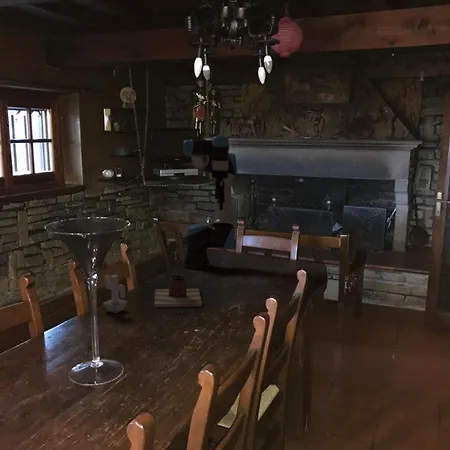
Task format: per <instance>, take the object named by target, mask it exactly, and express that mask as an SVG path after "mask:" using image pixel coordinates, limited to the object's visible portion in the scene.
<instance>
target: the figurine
mask: <svg viewBox="0 0 450 450" xmlns="http://www.w3.org/2000/svg"><path fill="white" fill-rule="evenodd" d="M119 282H120V280H119V275H118V274H113V275H109V274H107V275H105V276H104V288H105V289H107V290H110V291H111V299H109V300H106V301H104V302H102V305H103V306H104V308H105V310H106V311H107V312H109V313H114V314H118V313H119V312H121V311H124V308H125V307H126V305H127V303H128V300H124V298H125V297H126V286H125V285H124V284H120V283H119ZM119 296H120V297H119ZM120 298H121V299H120Z"/></svg>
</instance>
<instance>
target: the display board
mask: <svg viewBox="0 0 450 450" xmlns="http://www.w3.org/2000/svg"><path fill="white" fill-rule="evenodd" d="M186 294H187V297H170V296H169V288H165V289H164V288H160V289H159V288H158V289H157V288H156V289H154V308H185V307H186V308H187V307H189V308H190V307H191V308H193V307H198V308H199V307H200V308H202V307H203V301H202V297H201V293H200V289H199V288H186Z"/></svg>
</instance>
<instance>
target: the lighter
mask: <svg viewBox="0 0 450 450" xmlns="http://www.w3.org/2000/svg"><path fill="white" fill-rule="evenodd" d="M187 283H188V279H186V278H185V275H184V274H181V273H177V274H176V273H171V274H170V278H169V279H168V289H169V296H170V297H187V294H186V289H187V288H188V287H187V286H188V285H187Z"/></svg>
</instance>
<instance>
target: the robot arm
mask: <svg viewBox="0 0 450 450" xmlns="http://www.w3.org/2000/svg"><path fill="white" fill-rule="evenodd" d="M182 147H183V155H185V156H189V157H190V156H191V164H192V166H193V167H194V168H195V169H198V170H197V171H201V172H203V173H206V174H207V173H208V174H211V178H212V179H215V181H214V184H215V185H214V186H215V187H214V221H213V222H212V223H211V226H209V225H208V224H207V223H194V224H191V225H188V226H186V227H187V228H186V234H185V236H186V237H185V238H186V240H185V244H186V245H185V247H186V249H185V254H184V257H183V261H182V266H183V268H186V269H189V270H204V269H205V270H206V269H208V268H210V267H211V260H210V258H209V254H208V249H223V250H225V249H231V248H233V246H234V239H235V234H236V227H234V226H233V225H234V223H232V221H231V214H232V213H231V212H232V210H231V207H232V182H233V181H232V180H233V179H234V178H235V175H236V174H238V166H237V165H238V164H237V157H236V154H235V153H233V152H230V140H229V137H228V136H213V137H212V139H211V140H210V139H185V140H184V141H183V146H182Z"/></svg>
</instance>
